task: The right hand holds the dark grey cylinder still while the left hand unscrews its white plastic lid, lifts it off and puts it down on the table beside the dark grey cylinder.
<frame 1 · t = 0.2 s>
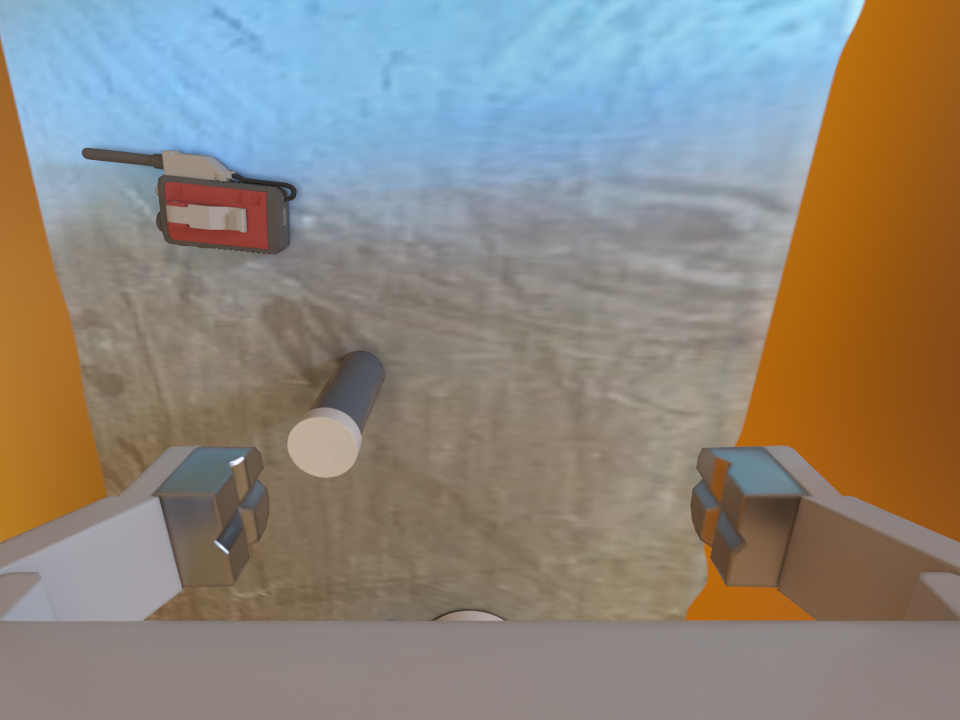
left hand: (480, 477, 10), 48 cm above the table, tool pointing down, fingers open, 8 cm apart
dark grey cylinder: (361, 372, 61), on the table
walkie-talkie: (200, 199, 54), on the table
lid: (323, 446, 47), point 16 cm above the table, screwed on, not yet turned
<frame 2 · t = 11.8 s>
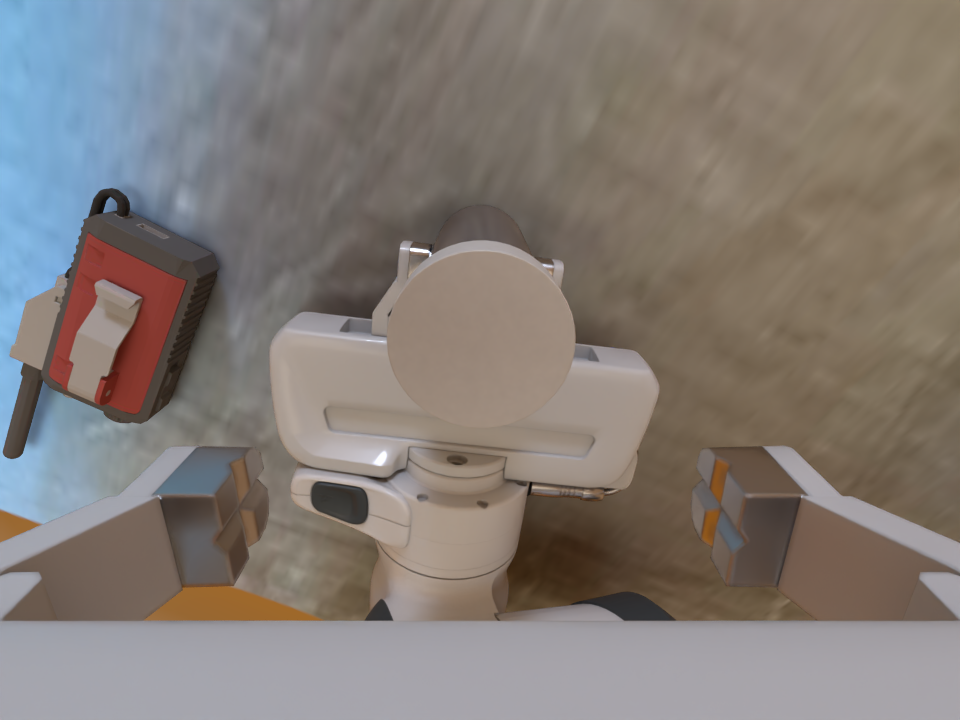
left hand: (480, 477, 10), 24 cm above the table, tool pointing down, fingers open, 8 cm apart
right hand: (481, 251, 27), fingers closed on dark grey cylinder, 5 cm apart
dark grey cylinder: (480, 250, 32), on the table, touching right hand
walkie-talkie: (117, 346, 35), on the table
lid: (481, 341, 17), point 16 cm above the table, screwed on, not yet turned
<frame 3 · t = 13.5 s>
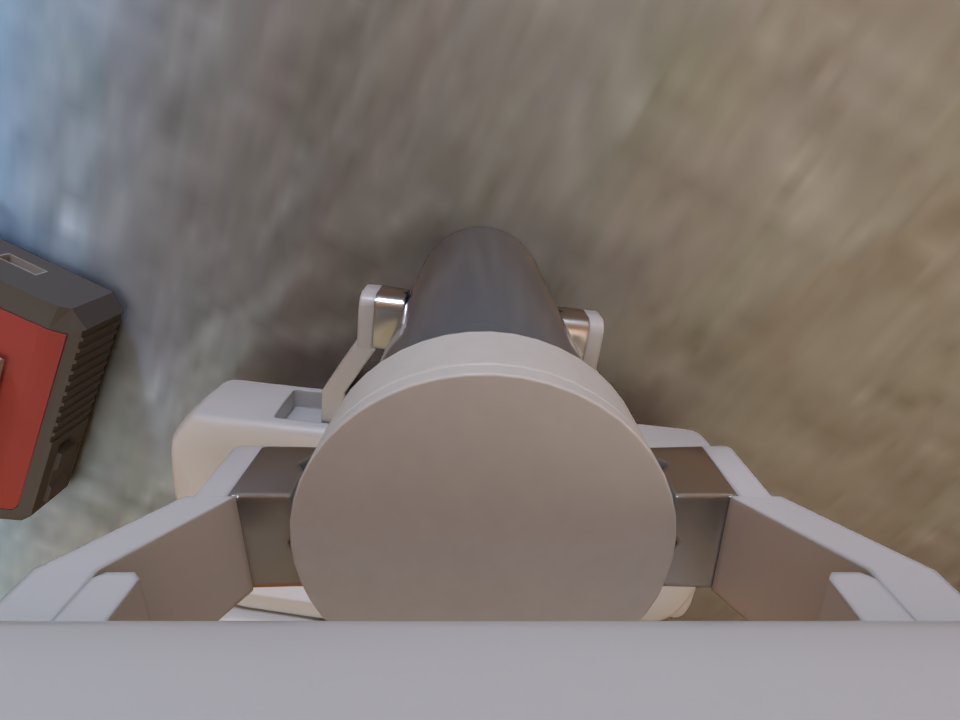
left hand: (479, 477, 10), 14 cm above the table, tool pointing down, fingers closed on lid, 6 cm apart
dark grey cylinder: (480, 288, 24), on the table, touching right hand
lid: (482, 535, 9), point 16 cm above the table, screwed on, not yet turned, touching left hand
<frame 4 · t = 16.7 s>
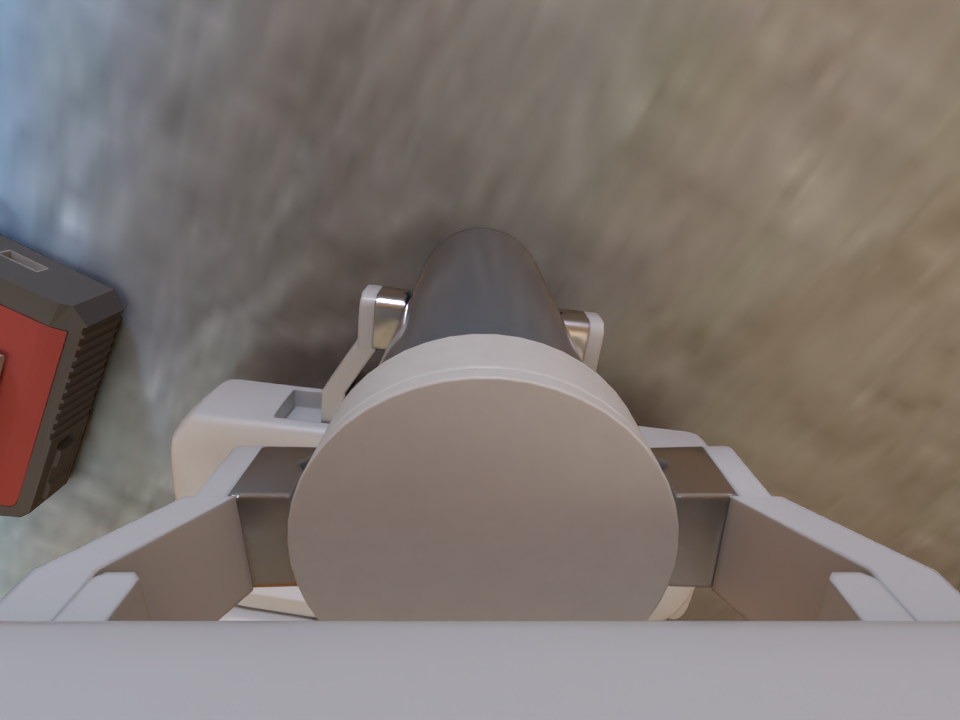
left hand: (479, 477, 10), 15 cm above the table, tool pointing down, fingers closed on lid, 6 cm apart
dark grey cylinder: (480, 289, 24), on the table, touching right hand
lid: (482, 540, 9), point 16 cm above the table, turned 74° so far, risen 0.1 cm, still on its thread, touching left hand
when the left hand's fingers open (2 cm above the table, at t = 33.3 s): lid drops 2 cm, point 1 cm above the table.
when the right hand's fingers open (5 cm above the table, at t = 34.3 s): dark grey cylinder stays where it is, on the table.
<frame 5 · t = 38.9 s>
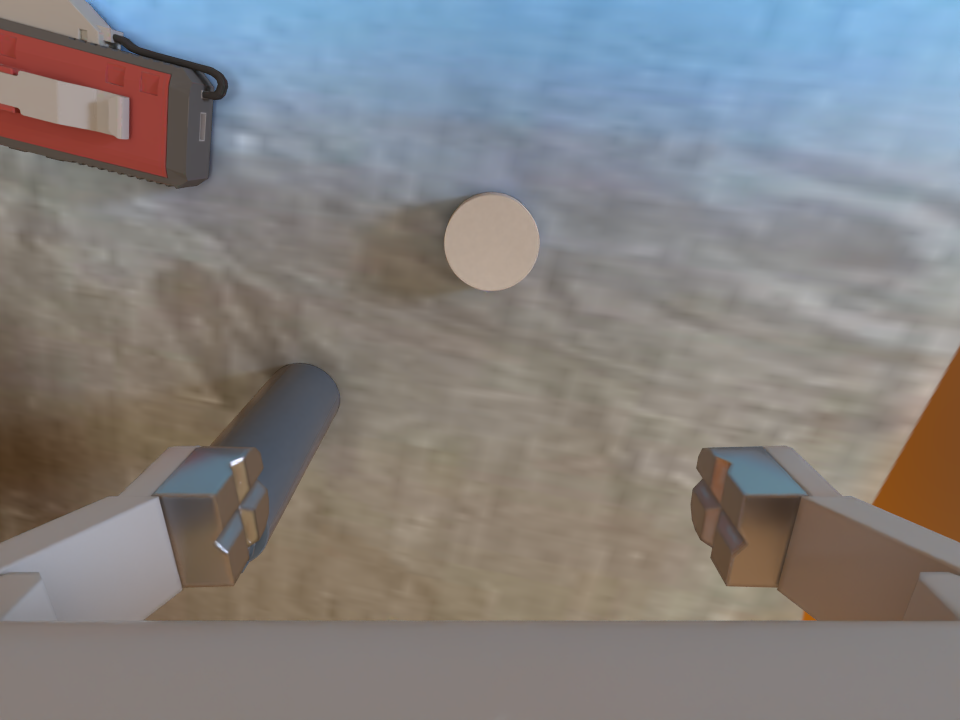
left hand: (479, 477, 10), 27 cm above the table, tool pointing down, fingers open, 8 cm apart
dark grey cylinder: (303, 396, 39), on the table
walkie-talkie: (62, 76, 32), on the table
lid: (491, 243, 34), point 1 cm above the table, off its thread
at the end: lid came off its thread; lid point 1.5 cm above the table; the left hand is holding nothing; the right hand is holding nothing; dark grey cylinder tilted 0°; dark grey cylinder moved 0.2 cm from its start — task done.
